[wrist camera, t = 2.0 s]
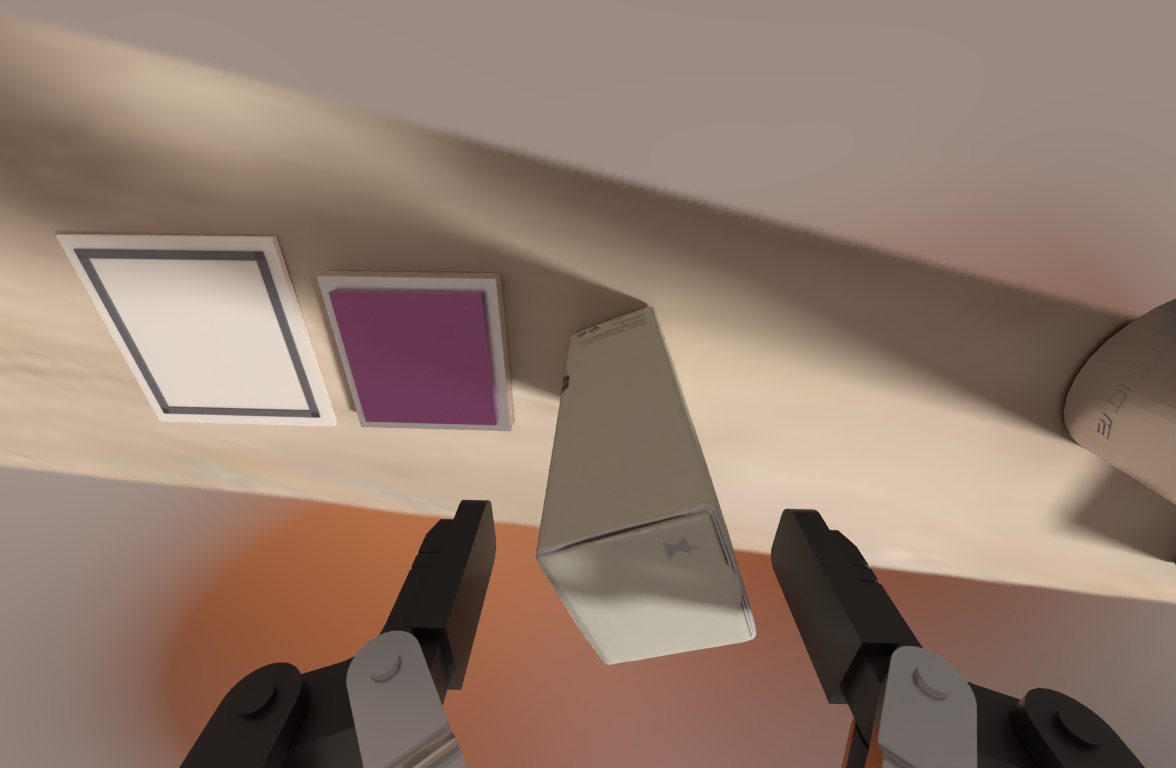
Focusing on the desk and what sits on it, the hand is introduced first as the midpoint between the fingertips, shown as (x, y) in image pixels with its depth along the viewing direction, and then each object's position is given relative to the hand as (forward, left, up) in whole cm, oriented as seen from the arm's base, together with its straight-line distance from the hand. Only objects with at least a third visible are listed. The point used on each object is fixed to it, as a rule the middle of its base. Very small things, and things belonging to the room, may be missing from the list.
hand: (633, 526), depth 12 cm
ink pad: (+10, 0, -11) cm, 14 cm away
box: (0, 0, -11) cm, 11 cm away
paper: (+21, -1, -11) cm, 23 cm away
